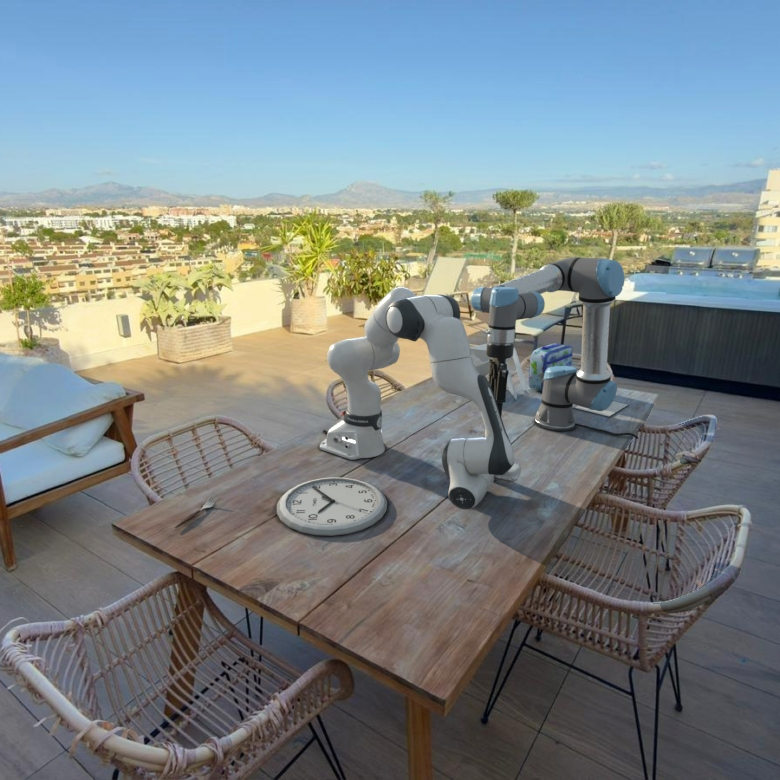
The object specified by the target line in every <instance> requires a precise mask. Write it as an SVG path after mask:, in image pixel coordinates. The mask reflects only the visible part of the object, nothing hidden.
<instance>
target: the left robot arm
mask: <svg viewBox="0 0 780 780" xmlns="http://www.w3.org/2000/svg"><path fill="white" fill-rule="evenodd" d="M363 329H364V334H365V336H362V337H355V338H354V337H353V338H347V339H346V338H345V339H342V340H340V341H337V342H335V343H332V344H331V345H330V346H329V348H328V349H327V353H326V360H327V364H328V366H329V368H330V370H331V371H332V372H334V373H335V374H336V375H338V376H339V378H341V379H342V381H343V383H344V386H345V389H346V400H347V401H346V402H347V408H346V409H344V410H343V411H342V412H341V413H340V417H343V418H342V419H341V420H340V421H338V422H336V423H335V424H334V425H332V426H331V427H330V428H329V429H328V430H326V429H323V430H322V433H324V434H325V435H326V438H325V439H323V440H322V441H321V442H320V444H319V449H320V450H322V451H323V452H324V451H325V452H327V453H330V454H333V455H336V456H339V457H341V458H344V459H346V460H349V461H354V460H359V459H368V458H374V457H375V458H376V457H378V456H380V455H382V454H383V453H385V451H386V447H385V444H384V440H383V434H382V433H383V430H382V427H383V411H382V408H381V407H382V406H381V405H382V390H381V388H380V386H379V385H378V384H377V383H375V382H374V381H372V380H370V379H369V376H368V372H369V371H370V372H371V371H376V370H379V369H385V368H388V367H390V366H392V365H394V364H396V363H397V362H398V360H399V359H400V354H401V349H400V345H399V343H398V341H399V339H403V340H408V341H411V342H417V341H418V340H419V339H421V340H423V342H425V344H426V346H427V351H428V358H429V359H428V360H429V367H430V373H431V376H432V380H433V382H434V383H435V384H436V385H437V387H439V388H440V389H441V390H442V391H444V392H446V393H449V394H451V395H455V396H458V397H462V398H465V399H467V400H469V401H471V402H472V403H474V404H475V405H476V406H477V408H478V410H479V413H480V416H481V418H482V422H483V426H484V428H486V431H487V435H488V436H487V437H485V436H478V437H458V438H457V437H456V438H451V439H449V441H447V443H446V444H445V446H444V449H443V451H442V454H441V462H442V463H441V465H442V468H443V471H444V474H445V475H446V477H447V478H448V480H449V488H448V499H449V501H450V503H451V504H452V505H453V506H455V507H456V508H458V509H461V510H471V509H473V508H475V507H477V505H479V504H481V502H482V500H483V499H484V497H485V496H486V494H487V492H488V491H489V489H490V488H491V486H492V484H493V483H494V481H497V482H501V483H507V484H508V483H509V484H510V483H511V484H512V483H514V482H517V481H518V479H519V477H520V476H521V473H522V465H521V463H519V462H515V451H514V448H513V445H512V442H511V440H510V437H509V436H508V433H507V431H506V428H505V425H504V421H503V418H502V416H501V415H500V412H499V409H498V406H497V403H496V399H495V397H494V394H493V391H492V388H491V386H490V383H489V379H488V378H487V377H486V376H483V375H481V374H480V373H479V372H478V371H477V369H476V368H475V366H474V364H473V361H472V355H471V349H470V347H471V346H470V345H471V344H470V341H469V337H468V334H467V330H466V327H465V325H464V323H463V321H462V320H461V308H460V305H459V303H458V302H457V300H456V299H455V298H454V297H452V296H449V295H446V294H436V295H435V294H425V295H423V294H422V295H419V296H417V295H416V294H415V293H414V292H413V291H412V290H411V289H410V288H407V287H403V286H399V287H395V288H393V289H392V290H390V291H389V292H388V293H387V294H386V295H385V296H384V297H383V298H382V299H381V300H380V301H379V302H378V303H377V305H376V306H375V307H374V309H373V310H372V312H371V314H369V316H368V318H367V319H366V321H365V323H364V328H363Z"/></svg>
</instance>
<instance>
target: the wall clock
mask: <svg viewBox="0 0 780 780" xmlns="http://www.w3.org/2000/svg"><path fill="white" fill-rule="evenodd" d="M387 509H388V500H387V498H386V496H385V494H384V493H383V492H382V491H381V490H380V489H379V488H377V487H376V486H374V485H372V484H371V483H369V482H365V481H362V480H359V479H355V478H349V477H338V476H337V477H335V476H333V477H332V476H331V477H322V478H317V479H312V480H307V481H305V482H302V483H299V484H297V485H295V486H293V487H292V488H290V489H288V490H287V491H286V492H285V493H284V494H283V495H281V496H280V498H279V499H278V502H277V503H276V515H277V517H278V518H279V520H280V521H281V522H282V523H283V524H285V525H286V526H287V527H288V528H290V529H293V530H295V531H297V532H299V533H303V534H308V535H312V536H327V537H328V536H329V537H331V536H332V537H333V536H342V535H350V534H352V533H356V532H361V531H363V530H366V529H368V528H369V527H372V526H373V525H375V524H376V523H378V522H379V521H380V520H381V519H382V518H383V517H384V516H385V514H386V512H387Z"/></svg>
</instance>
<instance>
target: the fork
mask: <svg viewBox="0 0 780 780" xmlns="http://www.w3.org/2000/svg"><path fill="white" fill-rule="evenodd" d="M219 496H220V494H218V493H213V492H212V493H211V494H210V497H208V500H207V501H206V502H205V503H204V504H203V505H202V507H201V508H200V509H198V510H196V511H194V512H193V513H191V514H189V515H188V516H187V517H185V518H184V519H183V520H182V521H181V522H179V523H178V524H177V525H175V527H174V528H175V529H177V528H179V527H180V526H182V525H184V524H185V523H187V522H189V521H190V520H192V519H194V517H196V516H197V515H198V514H199V513H201V511H203V510H204V509H210V508H212V507H213V506H214V505H215V504H216V502H217V500H218V498H219Z"/></svg>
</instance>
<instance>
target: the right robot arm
mask: <svg viewBox="0 0 780 780" xmlns="http://www.w3.org/2000/svg"><path fill="white" fill-rule="evenodd" d="M624 285H625V271H624V269H623V266H622V264H620V262H619V261H618V260H615V259H608V258H605V257H603V258H601V257H600V258H599V257H598V258H597V257H579V256H576V257H575V256H574V257H567V258H563V259H560V260H557V261H553V262H551V263H548V264H545V265H543V266H542V267H541V268H540V269H539V270H537V271H534V272H531V273H529V274H526V275H523V276H520V277H517V278H514V279H511V280H508V281H506V282H503V283H500V284H498V285H495V286H491V287H486V286H479V287H476V288H475V289H474V290H473V291H472V294H471V296H470V305H471V307H472V309H473V310H474V311H477V312H481V313H483V314H485V313H487V314H489V315H488V330H486V331H485V334H486V335H487V343H486V344H487V351H486V354H487V356H489V357H491V358H492V359H490V360H489V374H488V381H489V383H490V386H491V388H492V391H493V394H494V397H495V399H496V403H497V406H498V409H499V412H500V415H501V417H502V413H503V403H506V396H507V386H508V384H507V377H508V373H509V371H510V370H509V371H508V370H507V365H508V363H507V364H506V359H507V358H511V357H512V356H513V350H514V348H515V345H514V344H513V343H515V341H516V339H515V338H516V327H517V326H516V325H517V321H519V320H525V319H533V318H537V317H539V316H540V315H542V313H543V312H544V310H545V305H546V303H545V299H544V297H543V295H542V294H544V293H555V292H558V291H559V292H560V291H562V292H571V293H577V294H578V302H579V303H580V304H582V324H581V327H582V328H581V351H580V352H581V355H580V357H581V358H580V369H578V368H577V367H576V366H572V365H571V366H554V367H550V368H547V369H546V371H545V374H544V378H543V380H544V381H543V391H541V392H542V394H541V402H540V405H539V407H538V410H537V411H536V413H535V416H534V424H535V425H536V426H537V427H539V428H542V429H544V430H549V431H556V432H567V431H572V430H574V429H575V428H576V427H579V428H580V427H581V428H583V429H584V428H585V429H588V430H592V431H595V432H600V433H605V434H608V435H610V436H616V437H620V436H621V437H622V436H631V437H634V438H635V439H637V440H639V439H640V438H639V437H638V435H636V433H633V432H612V431H609V430H606V429H600V428H597V427H592V426H588V425H586V424H582V423H577V422H576V418H575V417H576V416H575V413H574V407H573V405H574V406H582V407H585V408H588V409H591V410H597V411H604V410H606V409H607V408H608V407H609V406H610V405H611V403H612V402H613V401H614V400H615V398H616V395H617V392H618V385H617V382H615V381H614V380H611V379H612V378H611V377H612V373H611V372H610V371H609V369H607V367H608V350H609V334H610V318H611V316H610V315H611V304H612V303H614V302H615V301H616V298H617V297H618V296H619V295H620V294H621V293H622V291H623V287H624Z"/></svg>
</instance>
